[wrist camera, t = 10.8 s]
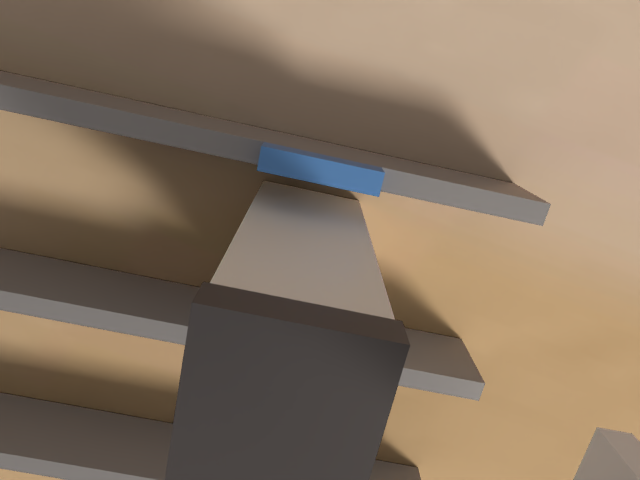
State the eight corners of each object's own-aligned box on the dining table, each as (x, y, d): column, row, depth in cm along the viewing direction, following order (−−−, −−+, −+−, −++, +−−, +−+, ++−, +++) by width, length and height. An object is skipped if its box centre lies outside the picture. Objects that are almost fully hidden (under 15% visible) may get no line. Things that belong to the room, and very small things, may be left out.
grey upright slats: (-81, 392, 24) (-168, 461, 20) (-91, 50, 19) (-207, 44, 15) (413, 480, 26) (432, 561, 21) (514, 183, 21) (563, 211, 17)
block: (244, 271, 22) (164, 481, 11) (261, 177, 21) (191, 302, 10) (339, 290, 22) (358, 514, 11) (361, 198, 21) (410, 345, 10)
